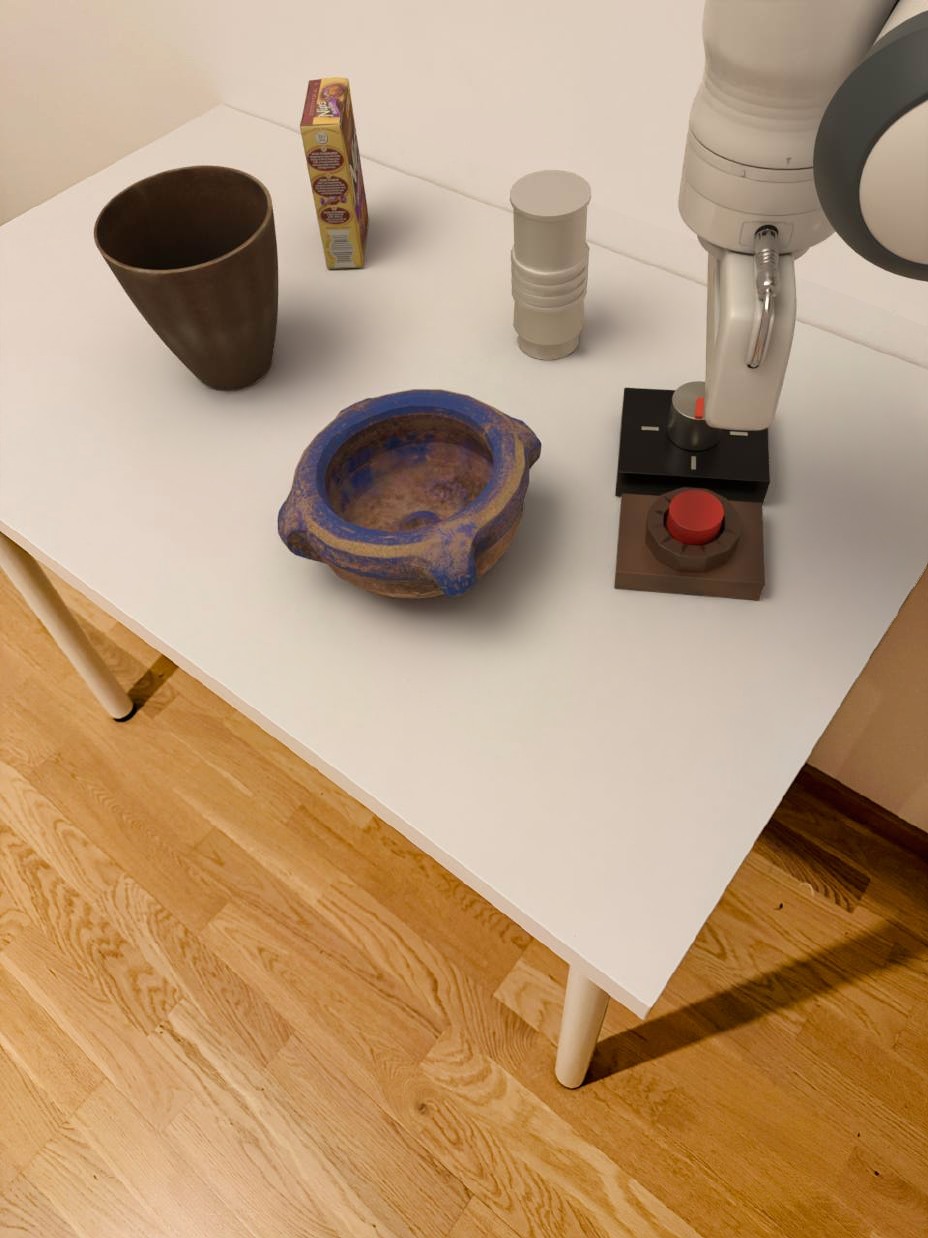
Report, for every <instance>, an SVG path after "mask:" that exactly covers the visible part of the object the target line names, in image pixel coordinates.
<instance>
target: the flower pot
mask: <svg viewBox="0 0 928 1238" xmlns="http://www.w3.org/2000/svg"><path fill="white" fill-rule="evenodd" d="M93 226H94V227H93V241H94V244H95V246H96V248H97V250H98V251H99V253H100V255H101V256H102V258H103V259H104V261H105V262H106V264H107V266H108V267H109V269H110V271H111V272H112V273H113V275H114V277H115V279H116V280H117V282H118V283H119V285H120V286H121V288H122V289H123V292H125V294H126V295H127V298H129V299H130V301H131V302H132V304H133V305H134V306H135V309H137V311H138V313H140V315H141V316H142V317H143V319H144V321H146V323H147V324H148V325H149V327H150V328H151V329H152V330H153V332H154V333H155V334H156V335H157V336H158V338H159V339H160V340H161V341H162V342H163V343H164V345H165V346H166V347H167V349H169V350H170V351H171V352H172V354H173V355H174V356H175V357H176V358H177V359H178V361H180V362H181V363H182V364H183V365H184V366H185V367H186V368H187V369H188V370H189V372H191V373H192V375H194V376H195V378H197V379H198V380H199V381H200V382H201V383H202V384H203V385H205V386H206V387H208V388H210V389H214V390H216V391H217V390H218V391H225V392H227V391H237V390H241V389H242V390H243V389H245V388H247V387H250V386H253V385H254V384H256V383H257V382H259V381H260V380H262V379H263V378H264V376H266V374H267V373H268V372H269V370H270V368H271V367H272V364H273V358H274V351H275V345H276V339H277V330H278V329H277V328H278V315H279V256H278V255H279V254H278V242H277V233H276V232H277V231H276V223H275V215H274V207H273V200H272V196H271V194H270V190H269V189H268V188H267V187H266V186H265V184H264V183H263V182H262V181H261V180H260V179H258V178H256V177H255V176H253V175H252V174H250V173H248V172H245V171H242V170H240V169H237V168H233V167H228V166H222V165H209V164H207V165H189V166H182V167H178V168H172V169H168V170H165V171H161V172H158V173H155V174H152V175H149V176H147V177H145V178H143V179H140V180H138V181H136V182H134V183H133V184H130V185H129V186H127V187H126V188H124V189H123V190H121V191H120V192H118V193H117V194H116V195H114V196H113V197H112V198H111V199H110V200H109V201H108V202H107V203H106V204H105V205H104V206H103V208H102V209H101V210H100V212H99V214H98V216H97V218H96V220H95V223H94V225H93Z"/></svg>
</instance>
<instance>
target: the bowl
mask: <svg viewBox="0 0 928 1238" xmlns="http://www.w3.org/2000/svg"><path fill="white" fill-rule="evenodd" d="M541 453H542V442H541V440H540V439H539V437H538V436H537V435H536V433H535V432H534V431H533V430H532V429H531V427H529V426H528V424H526V423H525V422H524V420H521V419H518V418H515V417H512V416H511V415H509V414H507V413H505V412H504V411H502V410H500V409H498V408H496V407H494V406H492V405H490V404H487V403H485V402H484V401H482V400H479V399H477V398H475V397H473V396H471V395H468V394H464V393H461V392H455V391H451V390H447V389H437V388H433V389H432V388H412V389H406V390H402V391H397V392H392V393H386V394H382V395H379V396H375V397H366V398H364V399H362V400H359V401H356V402H354V403H352V404H350V405H349V406H347V407H345V408H343V409H342V410H340V411H339V412H338V413H337V415H336V416H335V418H334V419H333V420H332V421H330V422H329V423H327V425H326V426H325V427H324V428H322V429H321V430H320V431H318V433H317V434H316V435H315V436H314V437H313V439H312V440H311V442H309V444H308V445H307V446H306V447H305V449H304V450H303V451H302V454H301V456H300V458H299V460H298V462H297V464H296V467H295V469H294V474H293V479H292V483H291V489H290V490H289V493H288V495H287V497H286V499H285V501H284V502H283V503H282V505H281V507H280V508H279V510H278V514H277V534H278V536H279V538H280V540H281V542H282V543H283V544H284V546H285V547H286V548H287V550H288V551H289V552H290V553H292V554H293V555H294V556H297V557H301V558H304V559H306V560H309V561H314V562H317V563H322V564H325V565H327V566H328V567H329V568H330V569H331V570H332V571H333V572H334V573H335V574H336V575H337V576H339V577H340V578H342V579H343V580H345V581H347V582H348V583H350V584H352V585H353V586H355V587H357V588H359V589H362V590H365V591H368V592H371V593H374V594H377V595H380V596H385V597H392V598H398V599H427V598H434V597H437V596H438V597H439V596H442V595H445V596H448V597H450V598H454V597H460V596H463V595H465V594H466V593H467V592H469V591H470V590H471V589H472V588H473V587H474V586H475V585H476V583H477V582H478V579H479V578H481V577H482V576H484V575H485V574H486V573H487V572H488V571H489V570H490V569H492V567H493V566H494V565H495V564H496V563H497V562H498V561H499V560H500V559H501V558H502V557H503V555H504V554H505V553H506V552H507V551H508V549H509V547H510V546H511V544H512V542H513V540H514V538H515V536H516V534H517V532H518V530H519V527H520V524H521V520H522V518H523V514H524V511H525V500H526V496H527V493H528V490H529V486H530V470H531V469H532V467H533V466H534V465H535V463H536V462H537V461H538V460H539V459H540V457H541Z"/></svg>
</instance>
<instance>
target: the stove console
mask: <svg viewBox="0 0 928 1238" xmlns="http://www.w3.org/2000/svg"><path fill="white" fill-rule="evenodd" d="M675 391H676V389H662V388H661V389H659V388H640V387H624V388H623V397H622V406H621V417H620V418H621V419H620V430H619V441H618V442H619V443H618V453H617V456H618V457H617V465H616V467H617V469H616V480H615V491H614V496H615V497H620V498H621V497H622V493H625V494H640V495H654V496H661V495H662V494H665V493H668V492H671V491H673V490H676V489H679V488H683V487H688V488H703V489H708V490H710V491H712V492H714V493H716V494H718V495H720V496H722V497H724V498H727V500H729V501H743V502H758V503H762V507H763V506H764V503H765V500H766V496H767V494H768V492H769V491H768V490H769V487H770V484H771V469H770V446H769V445H770V444H769V443H770V442H769V426H768V427H767V428H766V429H763V430H758V431H745V430H729V429H722V434H721V437H720V440H719V441H718V442H717V443H716V444H715V445H714V446H713V447H711V448H709V449H706V450H700V451H691V450H686V449H683V448H681V447H679V446H677V445H675V444H674V443H673V442H672V441H671V440H670V438H669V436H668V433H667V427H668V421H669V415H670V409H671V403H672V397H673V394H674V392H675Z"/></svg>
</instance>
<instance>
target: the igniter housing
mask: <svg viewBox="0 0 928 1238" xmlns="http://www.w3.org/2000/svg"><path fill="white" fill-rule="evenodd" d="M689 490H700V491H705V492H708V493H710V494H712V495H713V496H715V497H716V498H717V499H718V500H719V501H720V502H721V504H722V506H723V509H724V516H723V520H722V523H721V527H720V531H719V533H718V535H717V536H716V537H715V538H714V539H713V540H712V541H710V542H708V543H706V544H702V545H689V544H685V543H682V542H680V541H678V540H677V539H675V538H674V537H673V536H672V535H671V534H670V532H669V530H668V528H667V517H668V512H669V506H670V503H671V501H672V500H673V498H674V497H675V496H677V495H678V494H680V493H682V492H685V491H689ZM620 499H621V500H620V507H619V519H618V533H617V542H616V544H617V546H616V559H615V570H614V571H615V572H614V585H613V588H614V589H617V590H627V591H628V590H629V591H639V592H640V591H642V592H651V593H652V592H653V593H665V594H677V595H691V596H700V597H714V598H726V599H727V598H728V599H739V600H748V601H749V600H751V601H760V599H761V596H762V595H763V594H762V593H763V591H764V588H765V585H766V570H765V569H766V568H765V567H766V566H765V543H764V515H763V511H764V510H763V506H762V503H758V502H743V501H729V500H727V498H724V497H722V496H720V495H718V494H716V493H714V492H712V491H710V490H708V489H703V488H688V487H683V488H679V489H676V490H673V491H671V492H668V493H665V494H662V495H661V496H654V495H640V494H625V493H622V497H620Z"/></svg>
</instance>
